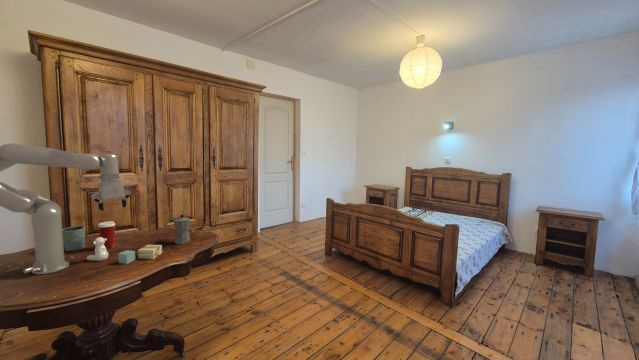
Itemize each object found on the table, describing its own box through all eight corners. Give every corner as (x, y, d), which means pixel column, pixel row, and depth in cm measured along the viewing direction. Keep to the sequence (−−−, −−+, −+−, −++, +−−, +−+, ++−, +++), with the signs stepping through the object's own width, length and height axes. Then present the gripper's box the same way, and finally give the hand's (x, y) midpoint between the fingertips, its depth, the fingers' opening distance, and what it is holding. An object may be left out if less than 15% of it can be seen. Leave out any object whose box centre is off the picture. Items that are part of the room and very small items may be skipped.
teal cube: (127, 263, 136) (126, 254, 135) (118, 263, 136) (118, 253, 136) (135, 260, 141) (134, 251, 140) (127, 259, 141) (126, 250, 141)
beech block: (153, 259, 142) (152, 250, 142) (138, 258, 142) (138, 250, 142) (162, 253, 150) (161, 245, 150) (148, 253, 150) (147, 244, 150)
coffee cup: (120, 245, 160) (118, 221, 158) (108, 250, 152) (106, 225, 150) (107, 244, 161) (106, 220, 159) (94, 249, 153) (93, 224, 151)
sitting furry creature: (107, 254, 147) (106, 233, 146) (115, 257, 143) (114, 236, 142) (86, 260, 139) (84, 238, 137) (93, 263, 135) (92, 241, 133)
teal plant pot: (77, 251, 150) (76, 230, 148) (57, 251, 148) (56, 231, 147) (90, 244, 160) (89, 225, 158) (71, 245, 158) (70, 225, 157)
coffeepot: (190, 244, 165) (190, 216, 163) (173, 246, 161) (172, 217, 159) (190, 237, 179) (189, 211, 177) (174, 238, 174) (173, 212, 172)
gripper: (90, 179, 131) (94, 212, 133) (131, 176, 144) (134, 206, 146) (87, 178, 135) (90, 210, 137) (127, 175, 149) (129, 205, 151)
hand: (113, 208), depth 142 cm, fingers open, 9 cm apart
